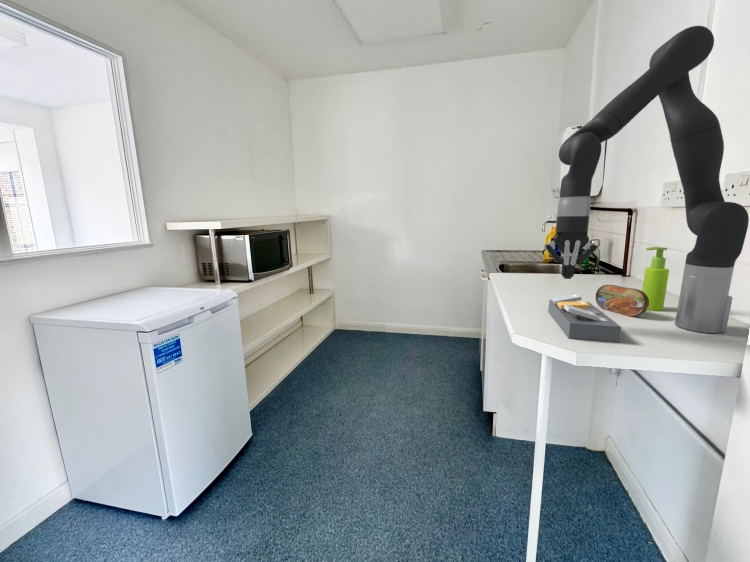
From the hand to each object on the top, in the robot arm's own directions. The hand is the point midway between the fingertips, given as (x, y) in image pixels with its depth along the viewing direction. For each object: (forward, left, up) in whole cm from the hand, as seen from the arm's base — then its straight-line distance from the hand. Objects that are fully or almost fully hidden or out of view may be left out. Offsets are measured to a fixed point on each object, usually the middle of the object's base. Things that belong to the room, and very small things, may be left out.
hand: (566, 278), depth 94 cm
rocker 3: (-2, +7, -8) cm, 11 cm away
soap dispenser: (-31, -24, -13) cm, 41 cm away
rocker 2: (-2, 0, -7) cm, 8 cm away
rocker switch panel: (-4, 0, -13) cm, 14 cm away
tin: (-20, -17, -14) cm, 29 cm away
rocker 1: (-2, -7, -8) cm, 10 cm away
